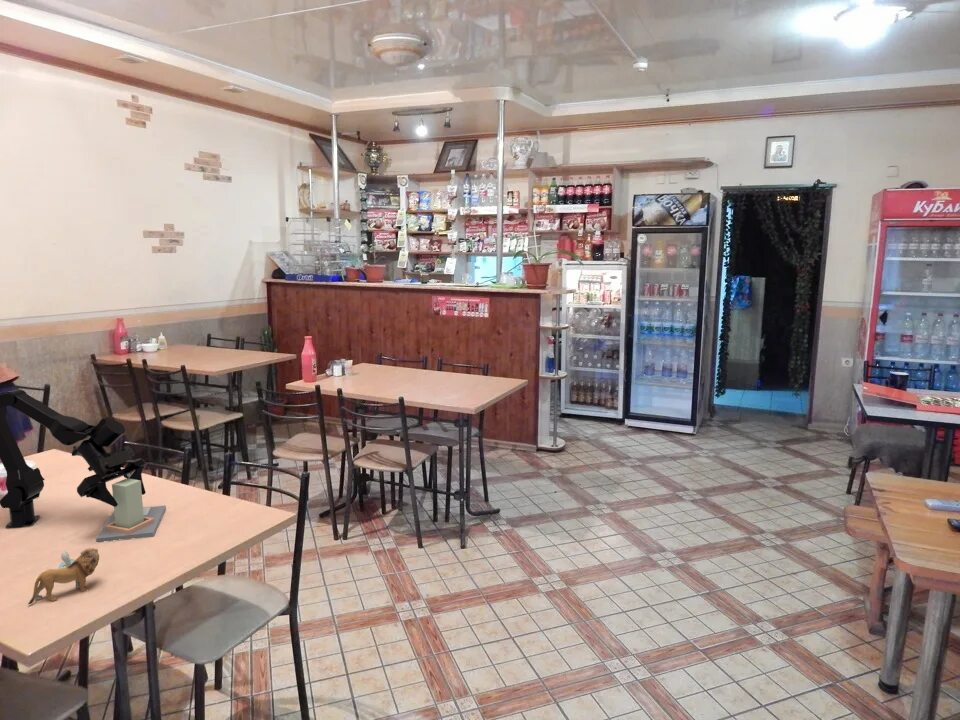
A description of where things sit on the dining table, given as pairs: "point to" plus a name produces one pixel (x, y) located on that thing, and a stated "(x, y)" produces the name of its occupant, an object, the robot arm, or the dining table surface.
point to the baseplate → (147, 531)
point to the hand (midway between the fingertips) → (130, 499)
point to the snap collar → (128, 531)
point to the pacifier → (65, 560)
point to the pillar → (128, 503)
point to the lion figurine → (67, 574)
